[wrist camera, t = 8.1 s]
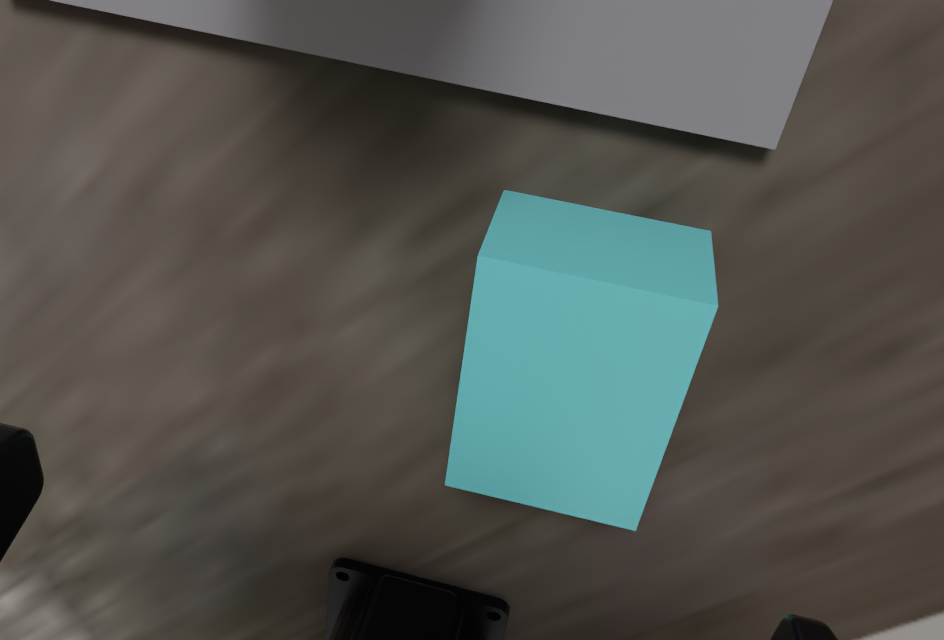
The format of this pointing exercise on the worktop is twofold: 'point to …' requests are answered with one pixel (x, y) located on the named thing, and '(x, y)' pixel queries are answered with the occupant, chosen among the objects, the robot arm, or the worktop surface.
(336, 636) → the robot arm
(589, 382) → the teal brick
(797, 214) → the worktop surface
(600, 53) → the baseplate
